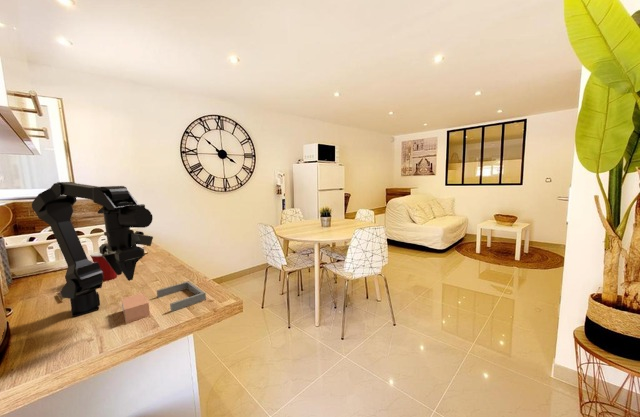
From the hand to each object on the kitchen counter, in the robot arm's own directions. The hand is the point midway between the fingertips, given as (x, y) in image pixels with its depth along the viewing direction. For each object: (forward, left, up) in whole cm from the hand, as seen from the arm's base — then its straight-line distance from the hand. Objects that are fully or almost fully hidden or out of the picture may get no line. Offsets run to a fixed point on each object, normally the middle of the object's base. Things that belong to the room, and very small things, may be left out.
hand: (124, 277), depth 79 cm
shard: (-11, +36, -13) cm, 40 cm away
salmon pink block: (+2, +1, -13) cm, 13 cm away
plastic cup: (+1, +46, -13) cm, 47 cm away
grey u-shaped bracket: (+15, +1, -13) cm, 20 cm away
